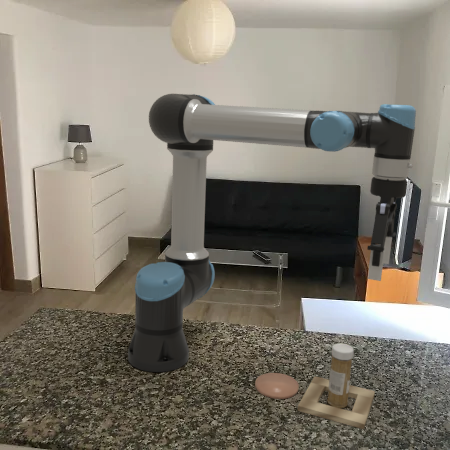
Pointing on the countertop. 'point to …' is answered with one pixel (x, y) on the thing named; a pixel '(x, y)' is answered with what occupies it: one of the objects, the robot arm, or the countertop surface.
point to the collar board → (332, 413)
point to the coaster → (276, 385)
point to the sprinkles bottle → (340, 375)
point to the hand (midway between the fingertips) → (378, 271)
